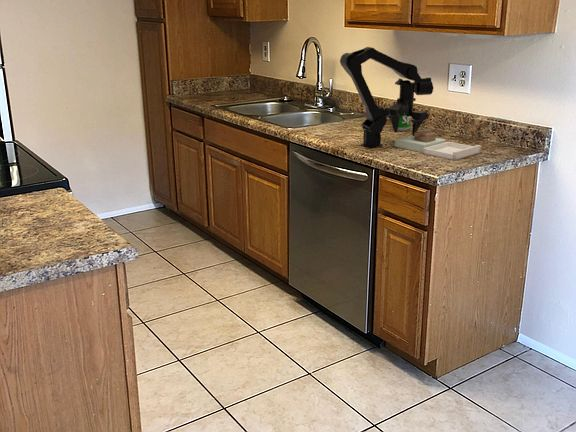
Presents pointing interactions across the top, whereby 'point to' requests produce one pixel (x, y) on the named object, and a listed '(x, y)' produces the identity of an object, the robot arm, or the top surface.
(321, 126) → the top surface
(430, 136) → the walnut tile
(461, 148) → the tray
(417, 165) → the top surface
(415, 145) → the platform
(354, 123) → the top surface
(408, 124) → the soda can
